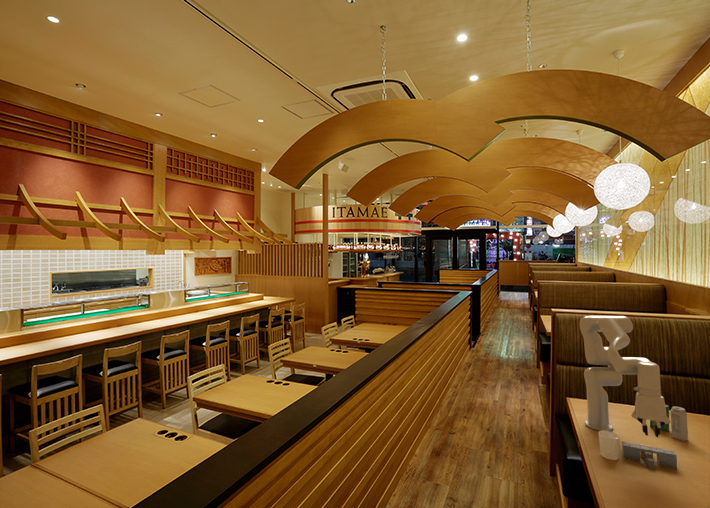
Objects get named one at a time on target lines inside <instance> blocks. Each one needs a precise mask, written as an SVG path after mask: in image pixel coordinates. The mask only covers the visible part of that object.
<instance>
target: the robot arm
mask: <svg viewBox="0 0 710 508" xmlns="http://www.w3.org/2000/svg"><path fill="white" fill-rule="evenodd" d="M579 329H580V332H581V335H582V337H583V343H584V344H583V345H584V347H583V348H584V355H585V356H584V357H585V359H586V362H587V363H588V364H589V365H595V366H591V367H587V368H586V369H584V372H583V376H584V382H585V387H586V403H587V404H586V405H587V419H585V420H584V425H585V426H586V427H587V428H590V429H592V430H595V431H598V432H599V431H610V432H612V431H613V429H614V428H613V426H614V425H612V424H610V413H609V396H608V392H607V391H606V390H605V388H604V387H608V386H609V387H617V386H618V387H619V386H620V385H622V383H623V375H635V376H637V386H635V387H633V390H634V391H636V393H635V398H634V399H635V400H634V410H633V412H632V413H631V414H630V416H631V418H633V419H635V420H637V421H638V422H639V423H640V424H641V426H642V428H641V429H642V432H643V433H644V435H645V436H647V437H648V436H649V432H648V431H649V428H648V425H647V421H650V420H653V421H655V423H656V424H655V426H654V428H653V429H654V436H655V437H656V438H659V436H660V435H661V429H660V428H661V426H663V425H665V424H668V423H669V424H670V423H671V419H670V418H669V419H668V417H667V414H666V406H665V405H666V403H665V398H664V396H662V393H661V392H662V391H661V389H662V388H661V371H660V370H661V369H660V366H659V364H657V363H655V362H652V361H650V360H649V359H648V358H646V357H641V356H640V357H639V356H636V357H635V356H621V355H620V353H619V351H620V350H622V349H624V348H626V347H628V345H629V344H630V343H631V339H630V337H629V335H628V333H631V332H632V331H633V330H634V324H633V322H632V321H631V319H630V318H629V317H627V316H626V315H585V316H583V317H581V318H580V320H579ZM599 332H600V333H601V332H602V334H603V335H604V336H605V338H606V340H607V341H608V343H609V345H608V346H603V345H604V344H603V339H602V337H601V335H600V334H599ZM597 365H598V366H597ZM599 365H600V367H599ZM601 366H602V367H601ZM606 366H607V367H606Z"/></svg>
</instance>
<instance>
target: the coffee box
mask: <svg viewBox="0 0 710 508" xmlns="http://www.w3.org/2000/svg"><path fill="white" fill-rule="evenodd" d="M665 406H666V414H667V417H668V419H669V420H670V406H669V405H668V404H665ZM655 424H656V423H655V421H653V420H649V427H650V428H652V429H654V426H655ZM661 430H662V431H665V432H670V423H668V424H665V425H663V426H661V428H660V431H661Z"/></svg>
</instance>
